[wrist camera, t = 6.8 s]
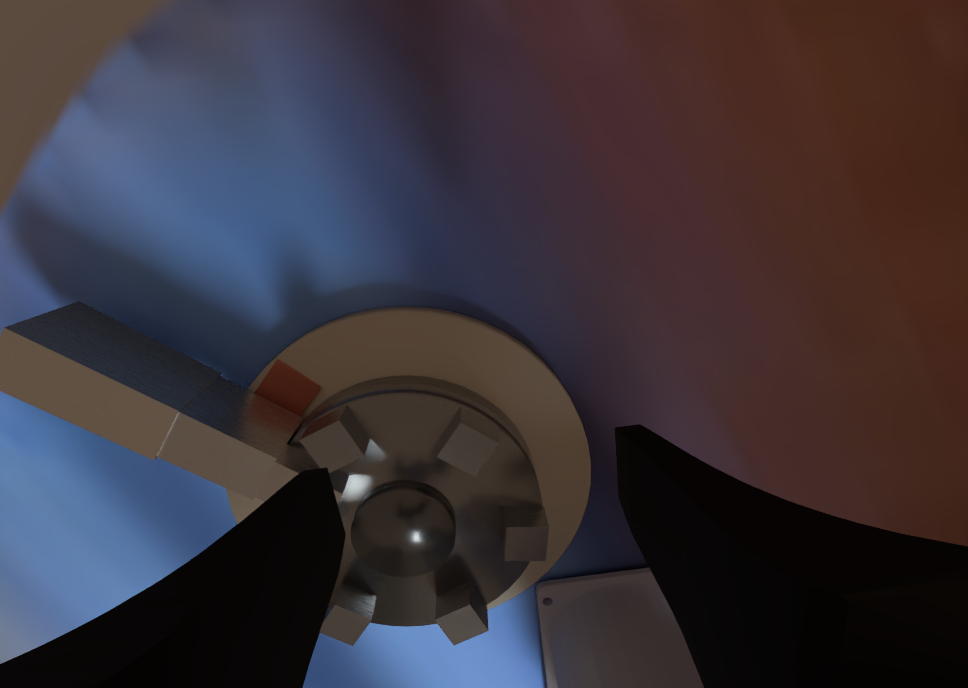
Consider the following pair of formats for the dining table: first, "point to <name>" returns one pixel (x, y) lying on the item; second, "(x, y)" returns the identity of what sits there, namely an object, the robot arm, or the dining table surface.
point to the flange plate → (457, 359)
